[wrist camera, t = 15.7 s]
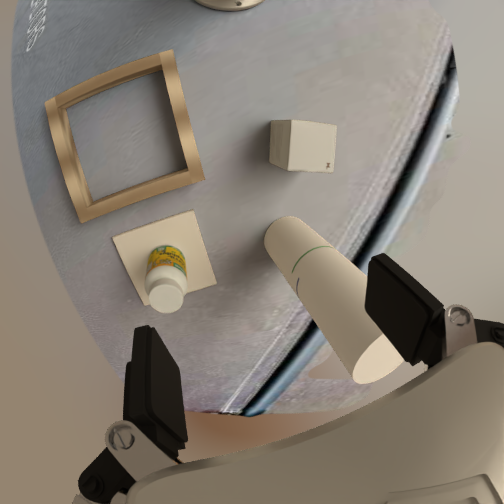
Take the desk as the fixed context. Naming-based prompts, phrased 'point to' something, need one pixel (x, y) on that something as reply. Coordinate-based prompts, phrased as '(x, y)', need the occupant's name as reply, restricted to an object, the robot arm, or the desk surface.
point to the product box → (302, 145)
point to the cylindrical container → (332, 297)
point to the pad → (160, 233)
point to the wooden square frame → (68, 150)
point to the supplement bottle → (166, 278)
